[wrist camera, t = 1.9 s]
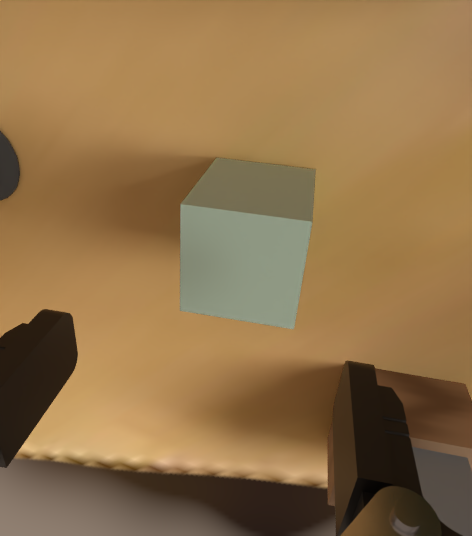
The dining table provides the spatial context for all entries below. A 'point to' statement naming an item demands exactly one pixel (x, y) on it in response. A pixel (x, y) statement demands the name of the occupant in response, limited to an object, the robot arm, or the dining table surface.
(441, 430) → the plinth
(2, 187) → the sundae
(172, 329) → the dining table surface
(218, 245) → the block
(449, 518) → the cube
